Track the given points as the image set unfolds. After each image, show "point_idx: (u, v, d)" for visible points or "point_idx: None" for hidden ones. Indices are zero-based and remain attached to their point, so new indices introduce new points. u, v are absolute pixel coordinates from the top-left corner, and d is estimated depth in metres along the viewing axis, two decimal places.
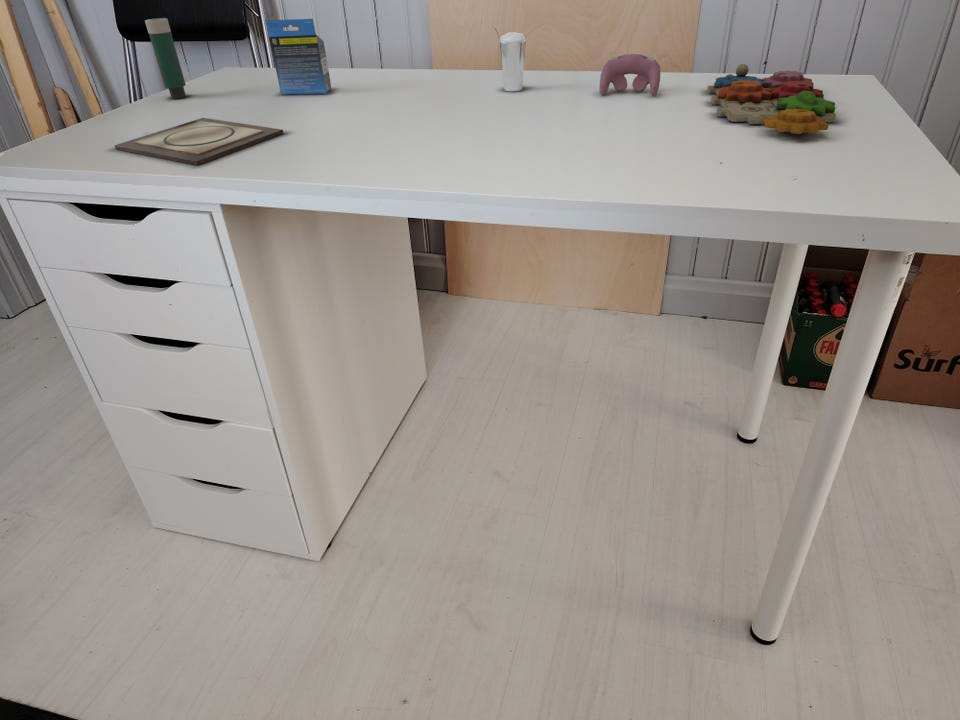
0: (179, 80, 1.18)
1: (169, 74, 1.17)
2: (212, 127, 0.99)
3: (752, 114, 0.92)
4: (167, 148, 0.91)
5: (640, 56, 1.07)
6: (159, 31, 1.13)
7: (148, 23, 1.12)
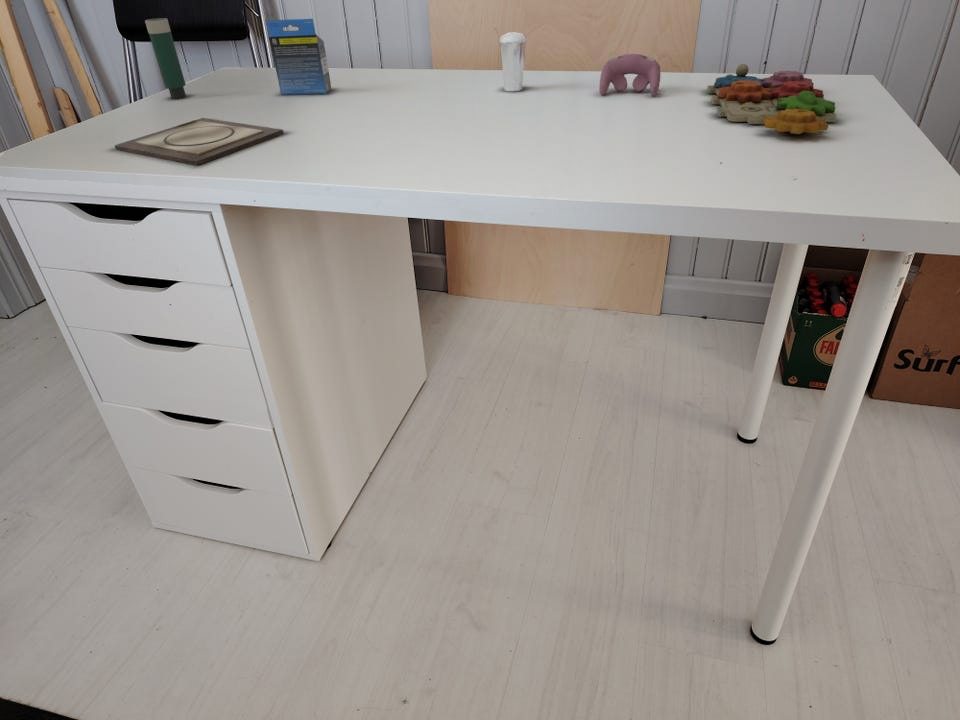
0: (179, 80, 1.18)
1: (169, 74, 1.17)
2: (212, 127, 0.99)
3: (752, 114, 0.92)
4: (167, 148, 0.91)
5: (640, 56, 1.07)
6: (159, 31, 1.13)
7: (148, 23, 1.12)
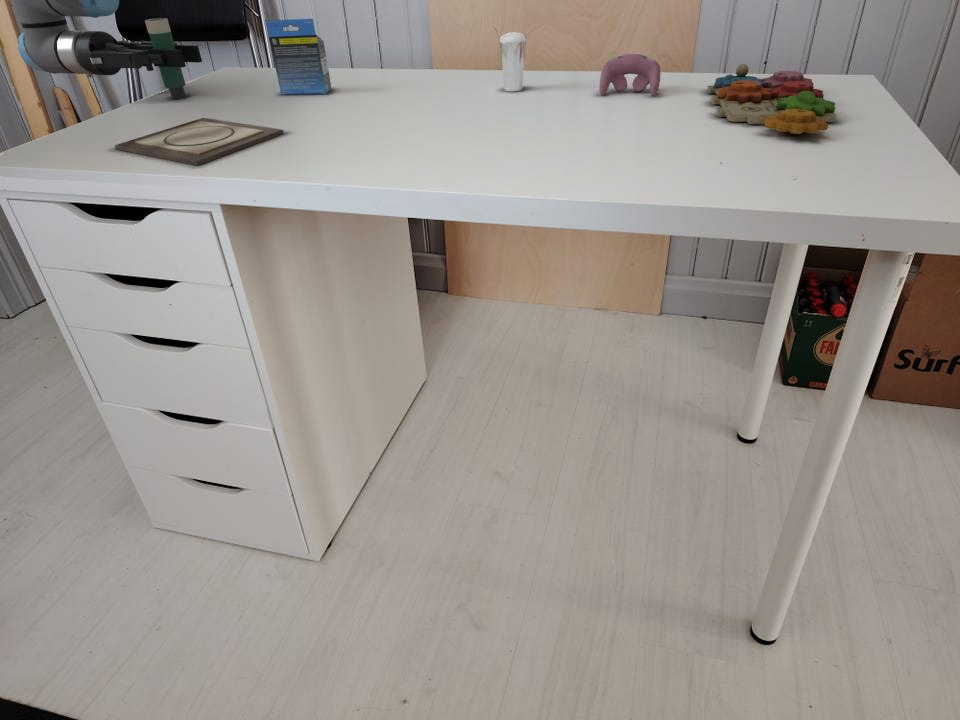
0: (179, 80, 1.18)
1: (169, 74, 1.17)
2: (212, 127, 0.99)
3: (752, 114, 0.92)
4: (167, 148, 0.91)
5: (640, 56, 1.07)
6: (159, 31, 1.13)
7: (148, 23, 1.12)
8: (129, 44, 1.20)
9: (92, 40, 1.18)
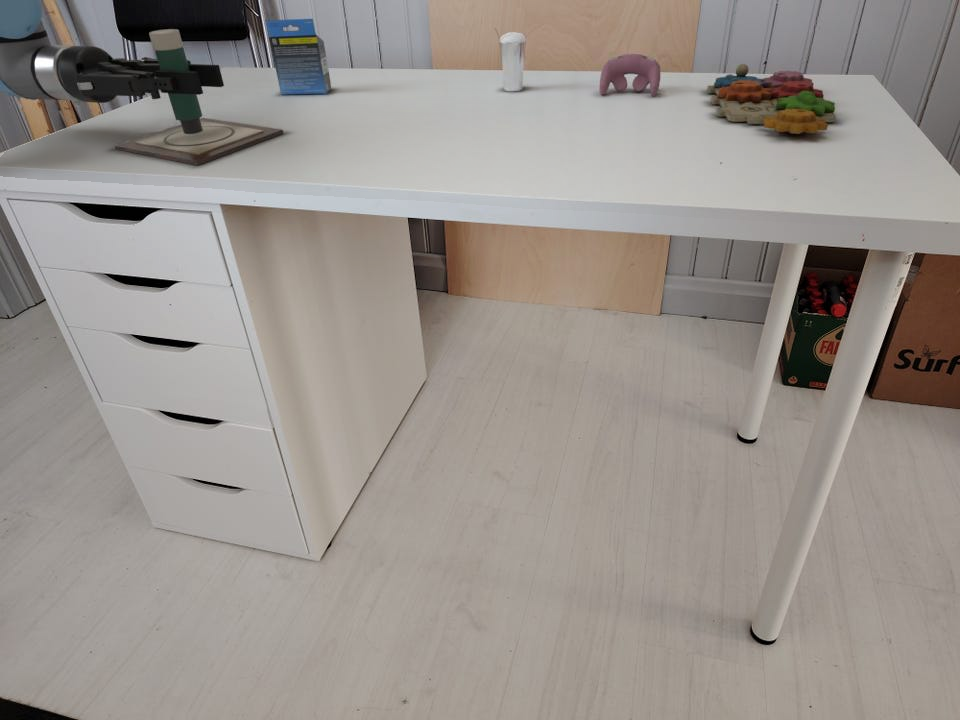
0: (194, 110, 0.90)
1: (181, 102, 0.89)
2: (212, 127, 0.99)
3: (751, 114, 0.92)
4: (167, 148, 0.91)
5: (640, 56, 1.07)
6: (169, 47, 0.85)
7: (153, 37, 0.84)
8: (128, 63, 0.92)
9: (80, 58, 0.90)
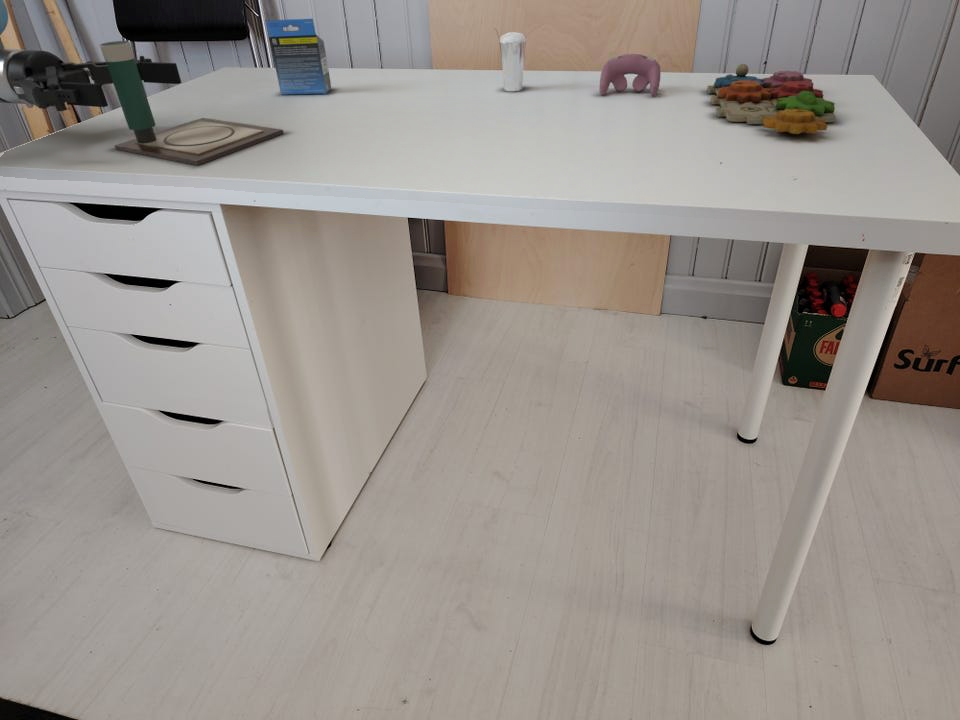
0: (147, 120, 0.92)
1: (133, 112, 0.91)
2: (212, 127, 0.99)
3: (751, 114, 0.92)
4: (167, 148, 0.91)
5: (640, 56, 1.07)
6: (119, 58, 0.87)
7: (103, 48, 0.86)
8: (83, 66, 0.94)
9: (29, 62, 0.91)
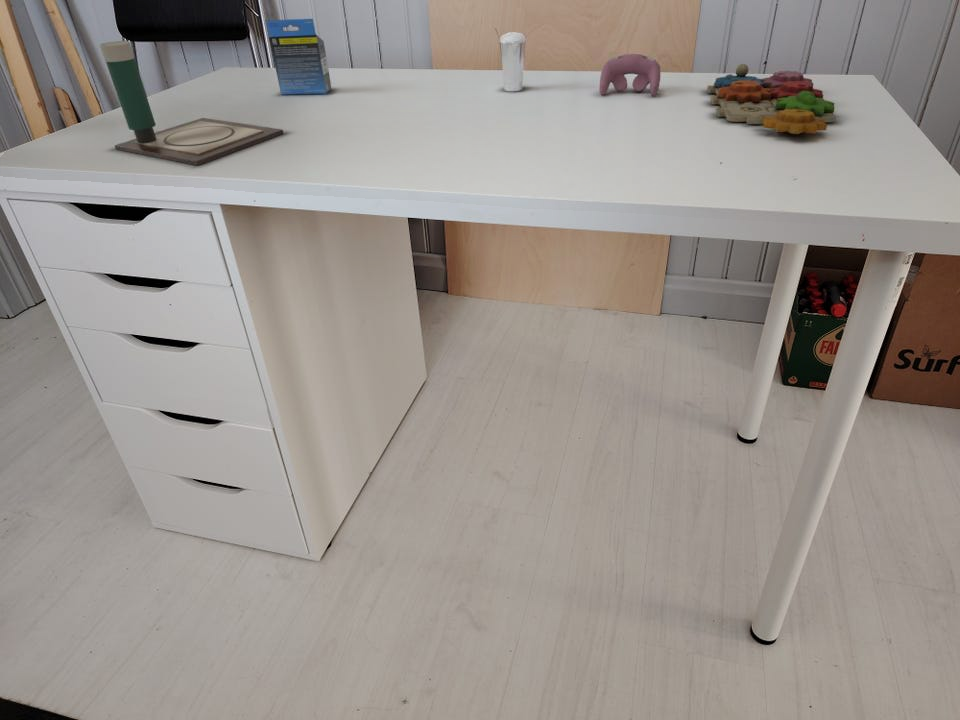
0: (147, 120, 0.92)
1: (133, 112, 0.91)
2: (212, 127, 0.99)
3: (751, 114, 0.92)
4: (167, 148, 0.91)
5: (640, 56, 1.07)
6: (119, 58, 0.87)
7: (103, 48, 0.86)
8: None
9: None
